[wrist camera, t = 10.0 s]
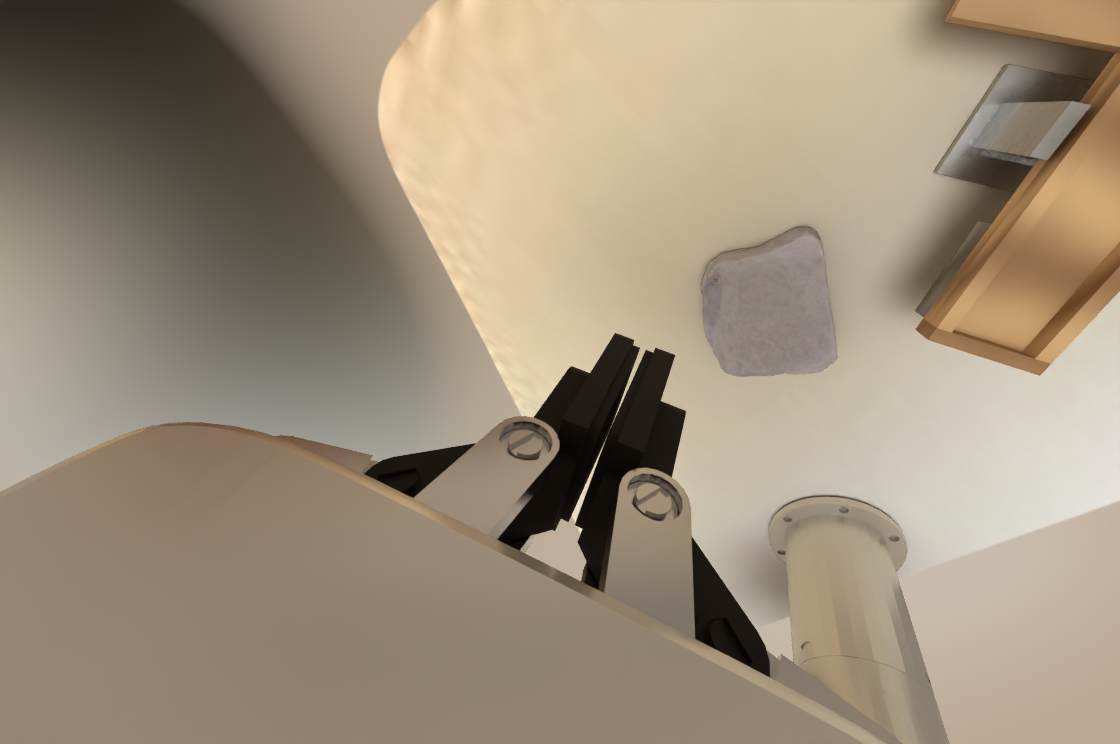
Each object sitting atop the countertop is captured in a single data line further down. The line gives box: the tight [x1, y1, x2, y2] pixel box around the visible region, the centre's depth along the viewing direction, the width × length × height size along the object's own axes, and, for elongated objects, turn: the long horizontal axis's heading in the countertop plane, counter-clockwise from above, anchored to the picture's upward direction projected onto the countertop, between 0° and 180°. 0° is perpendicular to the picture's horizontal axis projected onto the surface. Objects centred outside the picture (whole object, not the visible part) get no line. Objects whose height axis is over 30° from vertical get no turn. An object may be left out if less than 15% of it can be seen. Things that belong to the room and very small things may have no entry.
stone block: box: [701, 227, 838, 377], centre depth 36 cm, size 12×5×10 cm
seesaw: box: [915, 0, 1120, 375], centre depth 22 cm, size 22×14×4 cm, turn 168°
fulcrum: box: [934, 64, 1095, 192], centre depth 23 cm, size 6×10×8 cm, turn 78°
